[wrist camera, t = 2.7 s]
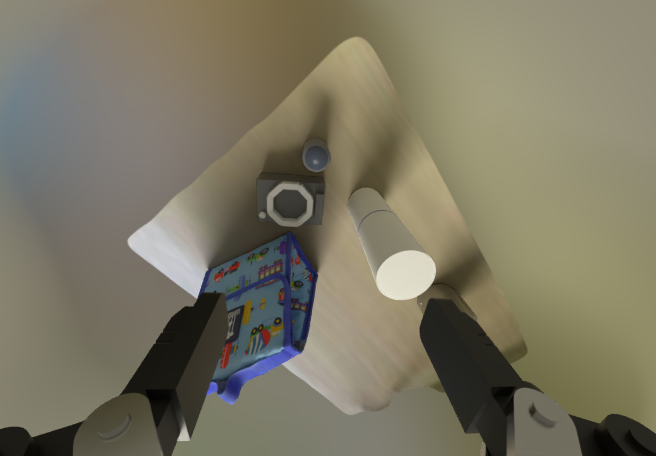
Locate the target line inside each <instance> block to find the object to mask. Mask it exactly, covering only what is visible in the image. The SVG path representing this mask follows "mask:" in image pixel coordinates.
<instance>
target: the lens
mask: <svg viewBox="0 0 656 456" xmlns="http://www.w3.org/2000/svg"><path fill="white" fill-rule="evenodd" d="M302 160H303V163H304V165H305V167H306V168H307V169H309V170H310V171H313V172H320V171H323V170H325V169H326V168H327V167H328V165H329V163H330V160H331V155H330V152H329V150H328V147H327V145H326V143H325V142H324V141H323V140H322V139H320V138H317V137H313V138H310V139H308V140H307V141H306V143H305V144H304V147H303V155H302Z"/></svg>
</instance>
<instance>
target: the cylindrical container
mask: <svg viewBox="0 0 656 456" xmlns="http://www.w3.org/2000/svg"><path fill="white" fill-rule="evenodd" d="M348 209H349V212H350V215H351V218H352V220H353V223H354V226H355V228H356V231H357V234H358V236H359V239H360V241H361V244H362V247H363V249H364V252H365V255H366V257H367V260H368V263H369V265H370V268H371V271H372V273H373V276H374V279H375V281H376V284H377V287H378V289H379V290H380V292H381V293H382V294H383V295H385V296H386V297H389V298H391V299H395V300H406V299H411V298H414V297H416V296H418V295H420V294H422V293H423V292H424V291H426V290H427V289H428V288H429V287H430V285H431V284H432V282H433V281H434V278H435V274H436V268H435V264H434V262H433V260H432V259H431V258H430V256H429V255H428V254H427V253H426V251H425V250H424V249H423V248H422V246H421V245H420V244H419V243H418V241H417V240H416V239H415V238H414V236H413V235H412V234H411V233H410V231H409V230H408V229H407V228H406V226H405V225H404V224H403V223H402V221H401V220H400V219H399V218H398V216H397V215H396V214H395V213H394V212H393V210H392V209H391V208H390V207H389V205H388V204H387V203H386V202H385V200H384V199H383V198H382V197H381V195H380V194H379V193H378V192H377V191H376V190H374V189H372V188H361V189H358V190H356V191H355V192H354V193H353V194H352V195H351V196H350V198H349V201H348Z"/></svg>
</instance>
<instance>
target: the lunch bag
mask: <svg viewBox="0 0 656 456" xmlns="http://www.w3.org/2000/svg"><path fill="white" fill-rule="evenodd" d="M317 278H318V274H317V273H316V271H315V270H314V269H313V267H312V266H311V264H310V262H309V261H308V259H307V258H306V256H305V255H304V253H303V251H302V250H301V248H300V246H299V244H298V242H297V240H296V239H295V236H294V235H293V234H292V233H291V232H288V233H287V234H286V235H283V236H281V237H279V238H277V239H275V240H273V241H271V242H269V243H267V244H265V245H263V246H260V247H258V248H257V249H254V250H252V251H250V252H248V253H246V254H244V255H241V256H239V257H237V258H235V259H233V260H230V261H228V262H226V263H224V264H222V265H220V266H217V267H215V268H212V269H210V270H208V271H207V272H206V273H205V277H204V280H203V283H202V286H201V289H200V292H199V295H198V298H199V296H200V294H201V293H203V292H216V293H225V296H226V305H227V314H228V323H229V327H228V335H227V339H226V342H225V345H224V347H223V350H222V353H221V356H220V358H219V361H218V364H217V367H216V370H215V372H214V375H213V378H212V381H211V384H210V386H209V389H208V392H207V395H209V394H211V393H213V392H217V394H218V396H219V397H220V398H222V399H223V400H224V401H226V402H227V403H229V404H233V403H235V402H236V400H237V399H238V396H239V393H240V390H241V388H242V386H243V385H244V383H245V382H247V381H248V380H250V379H252V378H254V377H256V376H259V375H263V374H265V373H266V372H268V371H269V370H271V369H273V368H275V367H277V366H279V365H280V364H282V363H284V362H286V361H288V360H289V359H291V358H294V357H295V356H296V355H298V354H301V353H302V351H303V350H304V347H305V344H306V341H307V337H308V333H309V327H310V321H311V315H312V308H313V302H314V296H315V288H316V282H317ZM198 298H197V299H198ZM207 395H206V396H207Z"/></svg>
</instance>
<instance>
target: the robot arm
mask: <svg viewBox="0 0 656 456" xmlns="http://www.w3.org/2000/svg"><path fill="white" fill-rule="evenodd" d="M417 302H418V306H419V308H420V310H421V311H422V313H423V318H422V321H421V324H420V338H421V341H422V343H423V346H424V348H425V350H426V352H427V354H428V356H429V358H430V360H431V362H432V364H433V367H434V369H435V371H436V373H437V375H438V377H439V379H440V381H441V383H442V385H443V387H444V390H445V392H446V394H447V396H448V398H449V400H450V402H451V404H452V406H453V408H454V411H455V413H456V415H457V417H458V419H459V421H460V423H461V425H462V427H463V429H464V432H465V433H466V434H467V433H480V435H481V437H482V439H483V443H482V445H481V452H480V456H656V434H655V433H654V432H652V431H651V430H650V429H648V428H647V427H645V426H643V425H642V424H640V423H639V422H637V421H635V420H633V419H630V418H628V417H626V416H622V415H618V414H610V415H608V416H607V417H606V418H605V419H604V420H603V421H602V422H601V423H600V424H599V423H596V422H592V421H589V420H586V419H582V418H579V417H576V416H572V415H569V414H567V413H566V411H565V410H564V409H563V408H562V407H561V406H560V405H558V404H557V403H556V402H555V401H554V400H552V399H551V398H550V397H548V396H547V395H545V394H544V393H543V392H542V391H541V390H540V389H539V388H537V387H536V386H535V385H533V384H531V383H529V382H526V381H522V379H521V378H520V377H519V375H518V374H517V373H516V372H515V370H514V369H513V368H512V366H511V365H510V364H509V363H508V361H507V360H506V359H505V357H504V356H503V355H502V353H501V352H500V351H499V350H498V348H497V347H496V346H495V344H494V343H493V342H492V341H491V339H490V338H489V337H488V335H487V334H486V333H485V332H484V330H483V329H482V328H481V327H480V325H479V324H478V323H477V316H476V315H475V313H474V312H473V311H472V310H471V308H470V307H469V306H468V305H467V303H466V302H465V301H464V300H463V298H462V297H461V296H460V295H459V293H458V292H457V291H456V290H455V289H451V288H450V287H449V286H447V285H444V284H434V285H431V286H430V287H429V288H428V289H427V290H426V291H424V292H423V293H422V294H420V295H419V297H418V300H417ZM228 327H229V323H228V314H227V305H226V296H225V293H216V292H203V293H201V294H200V296H199V298H198V299H197V301H196V303H195V304H194V306H193V307H188V306H185V307H184V308H182V309H181V310H180V311H179V312H178V313H176V314H175V315H174V316H173V317H172V318H171V319H170V321H169V322H168V324H167V325H166V327H165V328H164V330H163V333H161V334H160V336H159V337H158V339H157V340H156V343H155V344H154V345H153V346H152V348H151V349H150V351H149V353H148V354H147V356H146V357H145V359H144V360H143V362H142V363H141V365H140V366H139V368H138V369H137V371H136V372H135V374H134V375H133V377H132V378H131V380H130V381H129V383H128V384H127V386H126V387H125V389H124V390H123V392H122V393H121V394H120V395H119V396H117V397H115V398H112V399H111V400H109V401H107V402H105V403H104V404H102V405H101V406H99V407H98V408H97V409H96V410H94V412H92V413H91V414H90V415H89V416H88V417H87V418H86V420H84V421H82V422H79V423H76V424H73V425H70V426H67V427H64V428H61V429H58V430H54V431H51V432H48V433H45V434H42V435H38V436H35V437H31V436H30V434H29V433H28V431H27V430H25V429H24V428H21V427H7V428H3V429H0V456H171V455H172V453H173V450H174V447H175V445H176V443H177V441H186V440H190V439H191V436H192V434H193V431H194V428H195V425H196V422H197V420H198V417H199V414H200V411H201V409H202V406H203V403H204V400H205V397H206V395H207V392H208V389H209V386H210V384H211V381H212V378H213V375H214V372H215V370H216V367H217V364H218V361H219V358H220V356H221V353H222V350H223V347H224V345H225V342H226V339H227V335H228Z"/></svg>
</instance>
